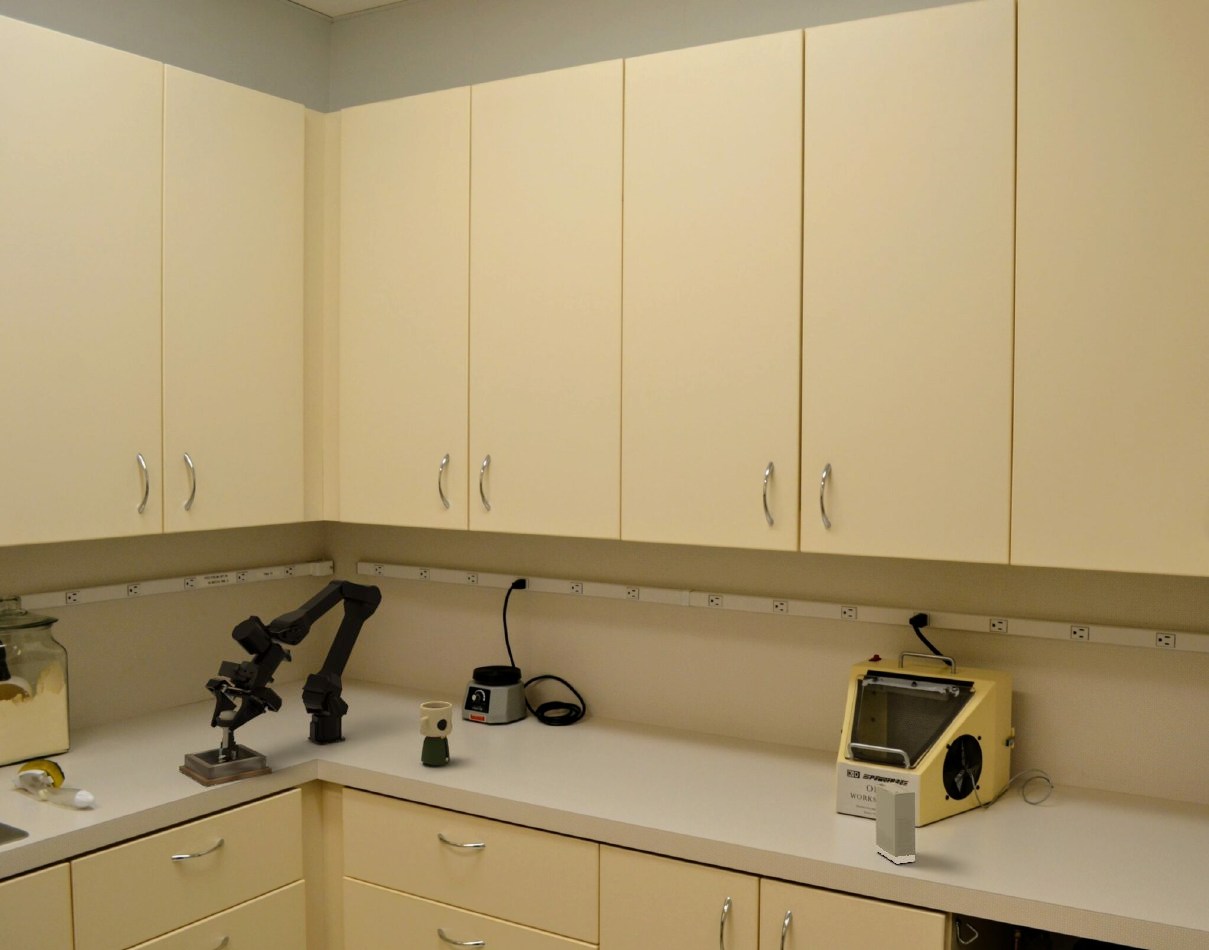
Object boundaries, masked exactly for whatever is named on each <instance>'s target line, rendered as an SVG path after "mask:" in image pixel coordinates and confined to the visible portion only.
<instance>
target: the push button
mask: <svg viewBox="0 0 1209 950" xmlns="http://www.w3.org/2000/svg"><path fill="white" fill-rule="evenodd" d="M237 712H238V710H233V711H223V712H221V713H220V716H217V717H216V721H217V726H216V727H219V728H220V729H222V738H221V740H222V741H221V742H220V746H219V748H221V749H220V750H219V763H222V762H229V761H230V760H231V759H235V758H236V757H237V756H238V744H237V741H236V740H235V730H234V731H233V732H231V731H229V730H228V728H229V726H230V724H231V722H232V720H233V719H234V717H235V715H236V714H237Z"/></svg>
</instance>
